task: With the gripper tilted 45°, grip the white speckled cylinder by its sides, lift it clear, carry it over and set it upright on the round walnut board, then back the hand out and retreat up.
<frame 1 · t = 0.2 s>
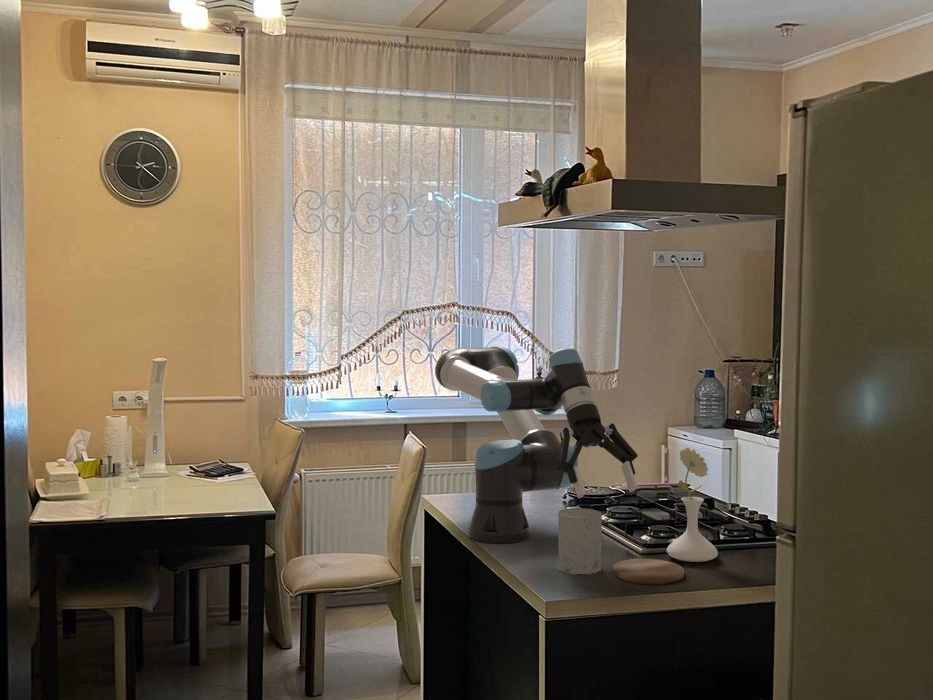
hand: (608, 492, 221), 15 cm above the table, tool tilted 35°, fingers open, 13 cm apart
white speckled cylinder: (579, 569, 214), on the table
walnut board: (648, 573, 209), on the table
flower in vase: (690, 559, 221), on the table
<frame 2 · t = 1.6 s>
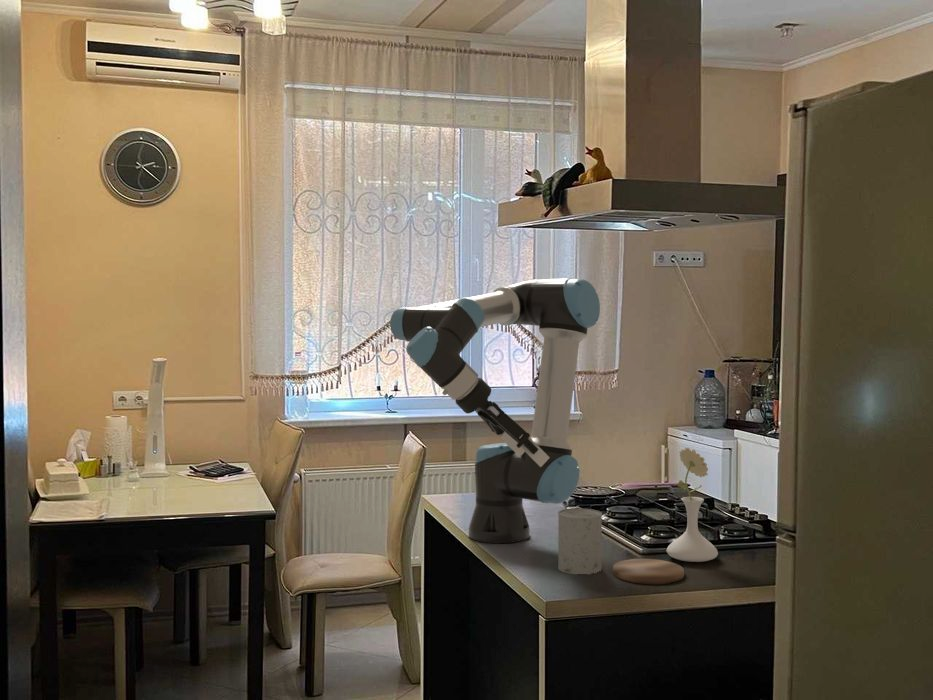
hand: (534, 457, 209), 25 cm above the table, tool tilted 45°, fingers open, 13 cm apart
nothing on the table moved.
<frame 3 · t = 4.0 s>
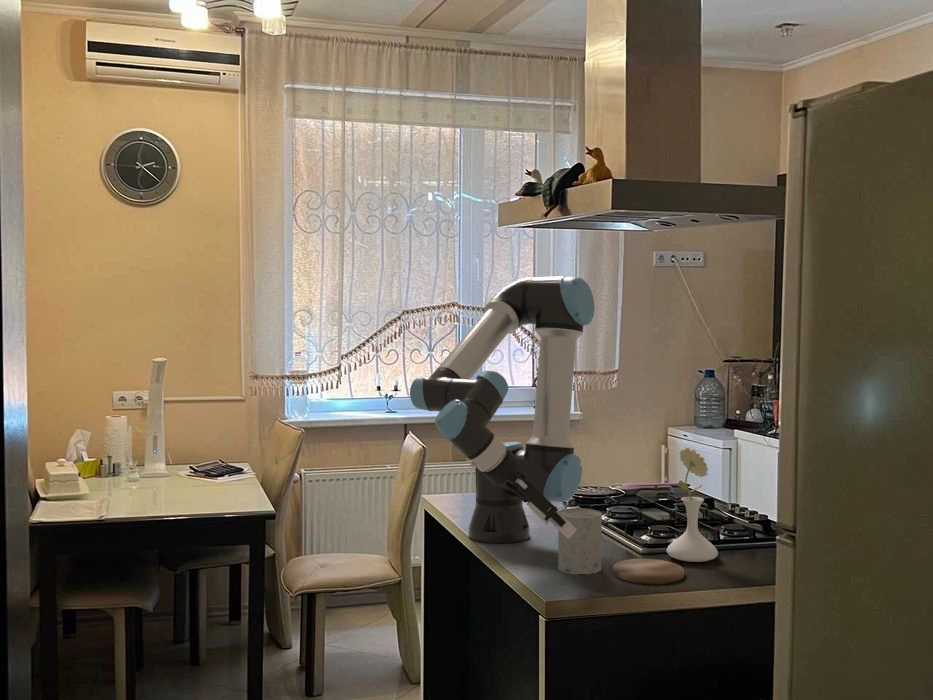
hand: (561, 526, 211), 10 cm above the table, tool tilted 45°, fingers open, 13 cm apart
nothing on the table moved.
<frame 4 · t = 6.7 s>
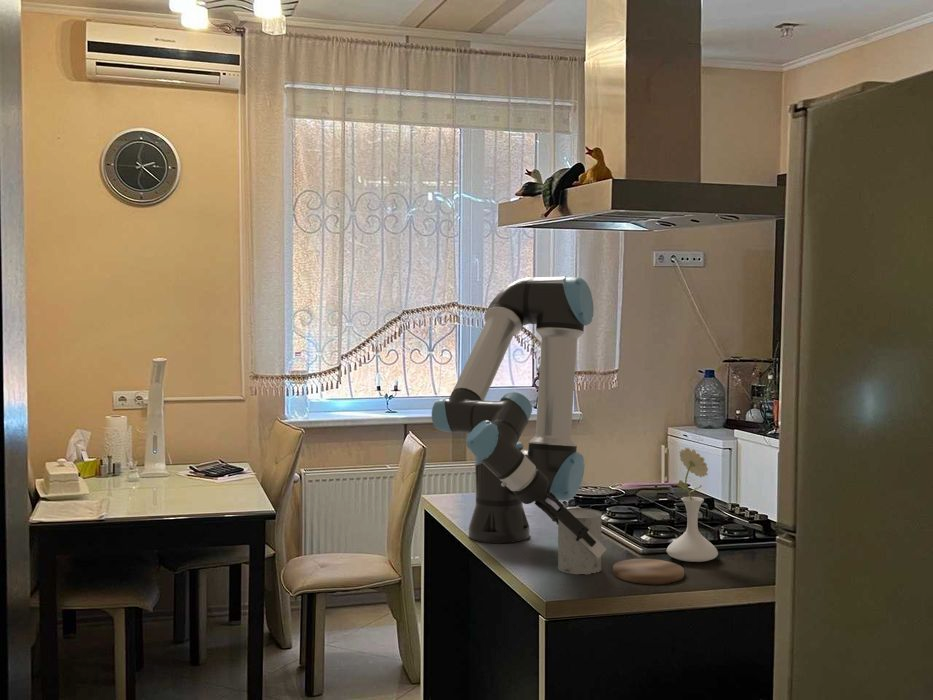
hand: (592, 547, 214), 4 cm above the table, tool tilted 45°, fingers closed on white speckled cylinder, 9 cm apart
white speckled cylinder: (579, 569, 214), on the table, touching gripper
everything else where it was.
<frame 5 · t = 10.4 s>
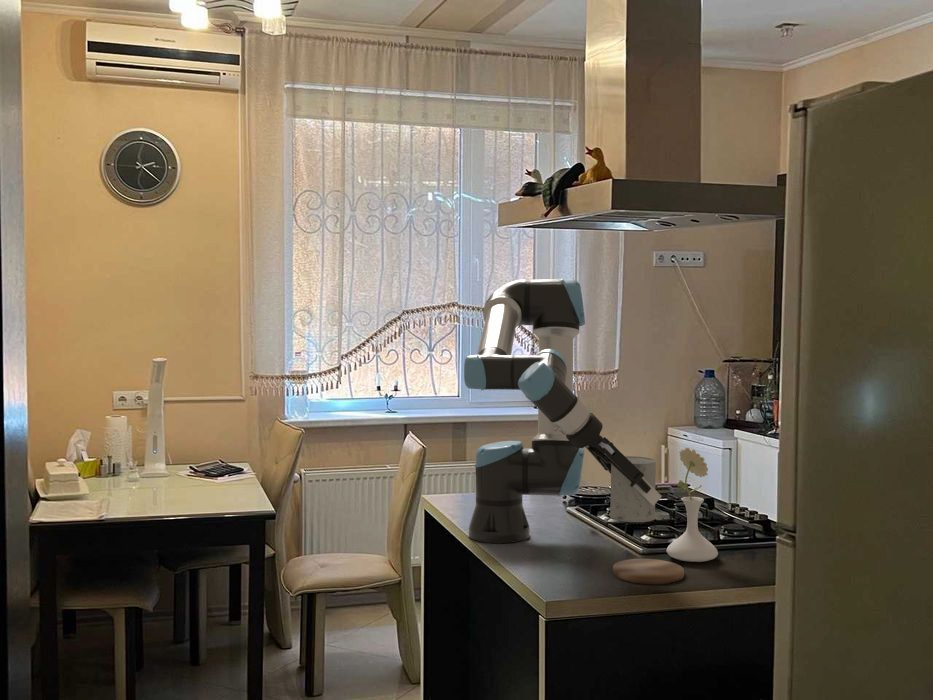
hand: (646, 495, 208), 17 cm above the table, tool tilted 45°, fingers closed on white speckled cylinder, 9 cm apart
white speckled cylinder: (632, 518, 208), point 12 cm above the table, touching gripper
everything else where it was.
when the fingers open (7 cm above the table, at t = 14.1 s): white speckled cylinder drops 1 cm, resting on walnut board.
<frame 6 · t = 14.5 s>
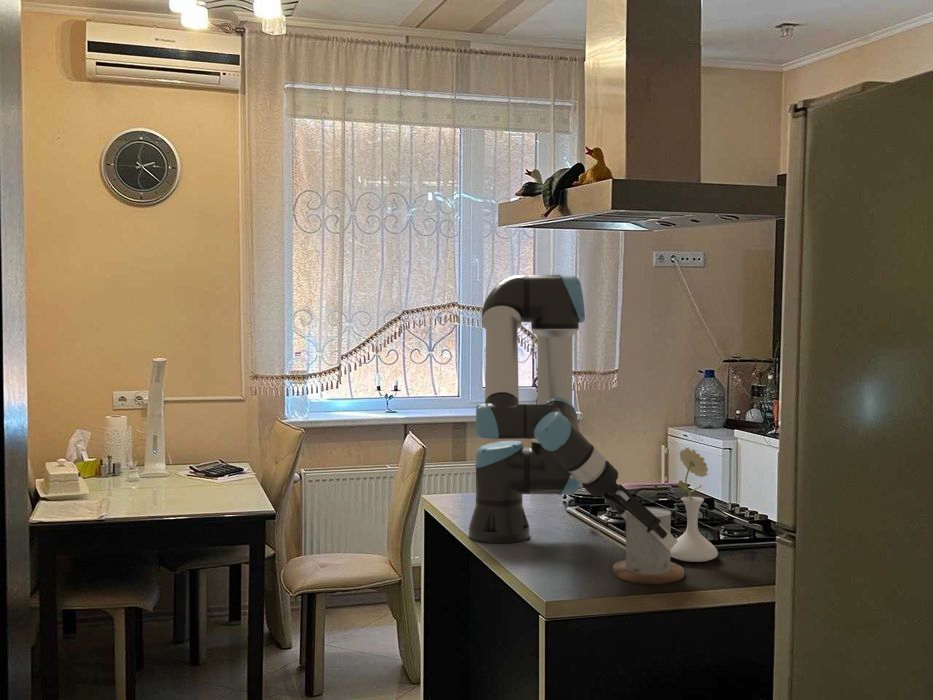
hand: (658, 537, 209), 8 cm above the table, tool tilted 45°, fingers open, 13 cm apart
white speckled cylinder: (647, 569, 209), point 1 cm above the table, touching walnut board
everything else where it was.
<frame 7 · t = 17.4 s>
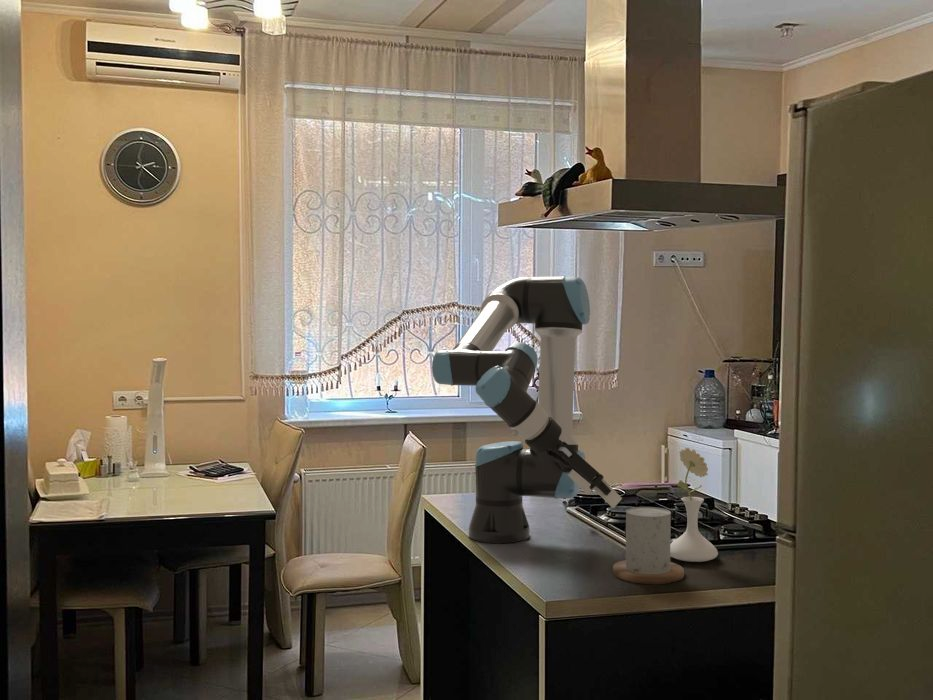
hand: (603, 496, 206), 17 cm above the table, tool tilted 45°, fingers open, 13 cm apart
nothing on the table moved.
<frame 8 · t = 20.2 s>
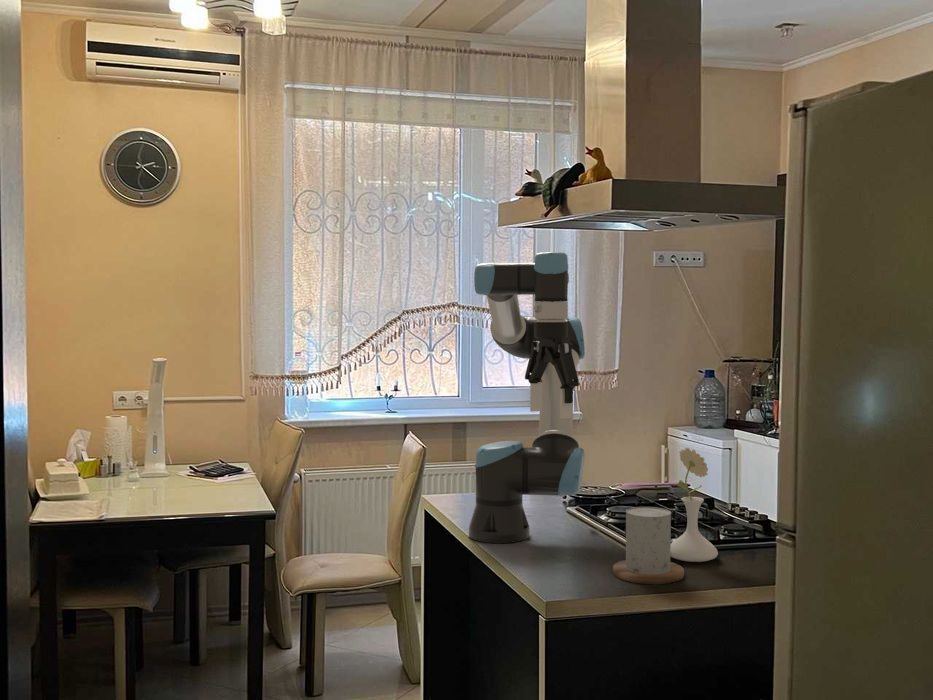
hand: (550, 414, 221), 33 cm above the table, tool pointing down, fingers open, 13 cm apart
nothing on the table moved.
at the end: white speckled cylinder inside the target area on the walnut board (0.1 cm from its centre), point 1.0 cm above the walnut board's base; white speckled cylinder tilted 0°; the gripper is holding nothing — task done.
